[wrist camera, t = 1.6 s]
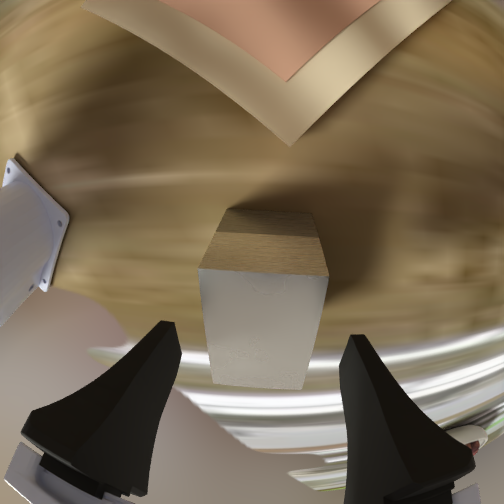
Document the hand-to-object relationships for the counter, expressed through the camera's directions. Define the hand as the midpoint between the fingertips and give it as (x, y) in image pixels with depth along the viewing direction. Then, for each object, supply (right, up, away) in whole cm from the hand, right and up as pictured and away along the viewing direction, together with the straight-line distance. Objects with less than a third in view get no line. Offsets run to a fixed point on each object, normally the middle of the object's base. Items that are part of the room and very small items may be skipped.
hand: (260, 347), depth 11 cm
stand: (+1, +18, -3) cm, 18 cm away
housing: (+1, +3, +5) cm, 6 cm away
